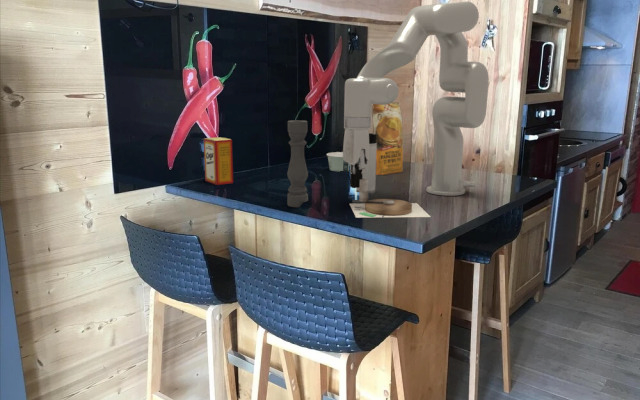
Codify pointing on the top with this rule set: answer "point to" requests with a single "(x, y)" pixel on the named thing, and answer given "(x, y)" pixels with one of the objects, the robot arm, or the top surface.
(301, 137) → the candle holder
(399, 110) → the pancake mix bag
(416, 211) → the dial plate
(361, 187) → the dial
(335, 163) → the food container
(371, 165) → the travel mug
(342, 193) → the top surface
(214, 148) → the baking soda box
